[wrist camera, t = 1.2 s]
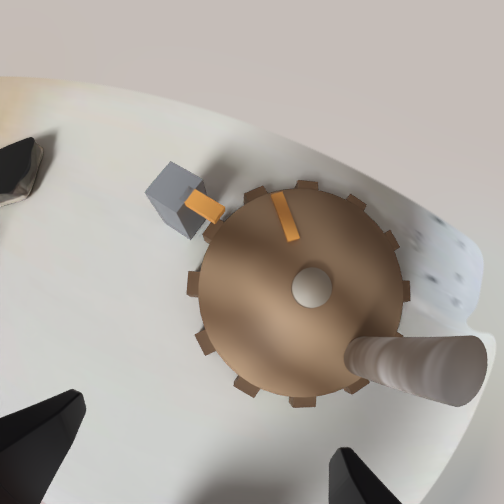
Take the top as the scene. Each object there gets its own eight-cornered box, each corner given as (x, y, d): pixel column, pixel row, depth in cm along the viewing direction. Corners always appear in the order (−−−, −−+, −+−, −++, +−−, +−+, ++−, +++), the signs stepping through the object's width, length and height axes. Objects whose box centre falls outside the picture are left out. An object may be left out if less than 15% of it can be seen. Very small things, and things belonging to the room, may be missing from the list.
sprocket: (334, 434, 20) (418, 513, 7) (148, 323, 22) (45, 311, 9) (424, 259, 25) (528, 207, 11) (267, 156, 27) (287, 36, 13)
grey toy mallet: (214, 255, 24) (206, 232, 18) (164, 222, 24) (144, 192, 19) (234, 227, 25) (232, 196, 19) (184, 196, 25) (170, 161, 19)
